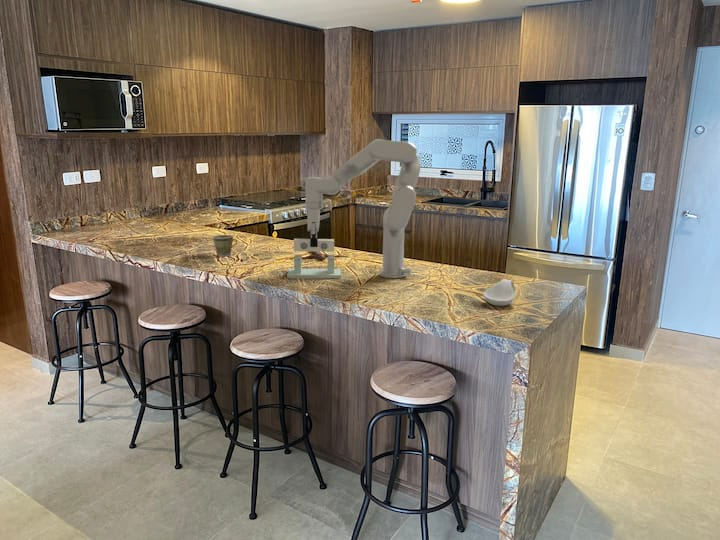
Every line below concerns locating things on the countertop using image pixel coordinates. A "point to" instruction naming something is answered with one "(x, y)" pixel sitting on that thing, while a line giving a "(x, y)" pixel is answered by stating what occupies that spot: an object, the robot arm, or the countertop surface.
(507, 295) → the spoon rest
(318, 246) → the cream rectangular beam
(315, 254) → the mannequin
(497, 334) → the countertop surface
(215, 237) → the ceramic cup
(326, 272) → the display stand
